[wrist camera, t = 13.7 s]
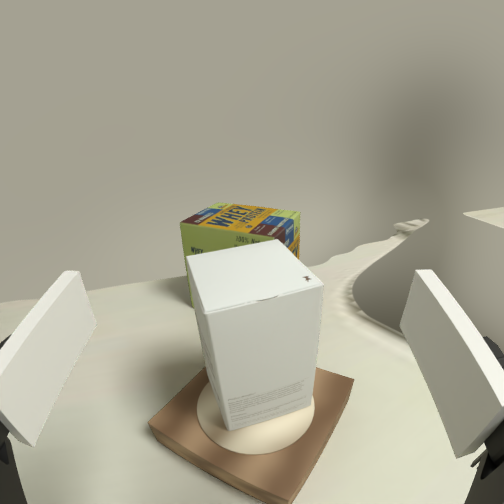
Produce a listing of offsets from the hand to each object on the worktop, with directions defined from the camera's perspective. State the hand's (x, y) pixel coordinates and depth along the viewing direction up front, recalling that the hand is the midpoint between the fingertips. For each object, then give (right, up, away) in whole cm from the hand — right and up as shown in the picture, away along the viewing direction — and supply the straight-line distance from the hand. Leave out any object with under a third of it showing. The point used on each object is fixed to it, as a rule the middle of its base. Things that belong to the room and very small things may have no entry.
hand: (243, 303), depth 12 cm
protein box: (-1, -7, +42) cm, 42 cm away
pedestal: (+1, -17, +20) cm, 27 cm away
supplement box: (+1, -13, +20) cm, 24 cm away
